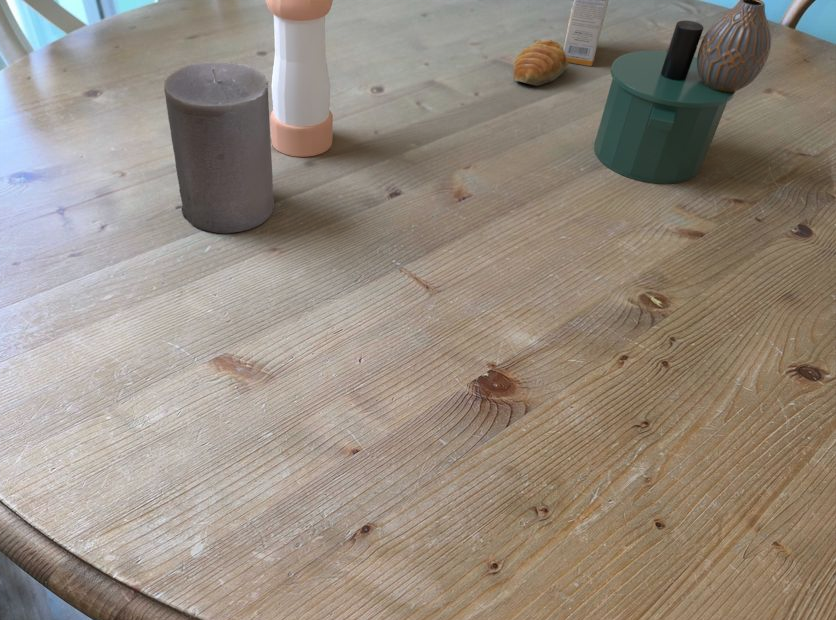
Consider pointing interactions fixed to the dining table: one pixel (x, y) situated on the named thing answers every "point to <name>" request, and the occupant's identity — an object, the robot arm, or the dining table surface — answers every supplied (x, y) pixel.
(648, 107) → the pot
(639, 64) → the lid
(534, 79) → the pastry
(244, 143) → the pillar candle
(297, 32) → the salt shaker
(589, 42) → the supplement box
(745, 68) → the vase
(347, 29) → the dining table surface
